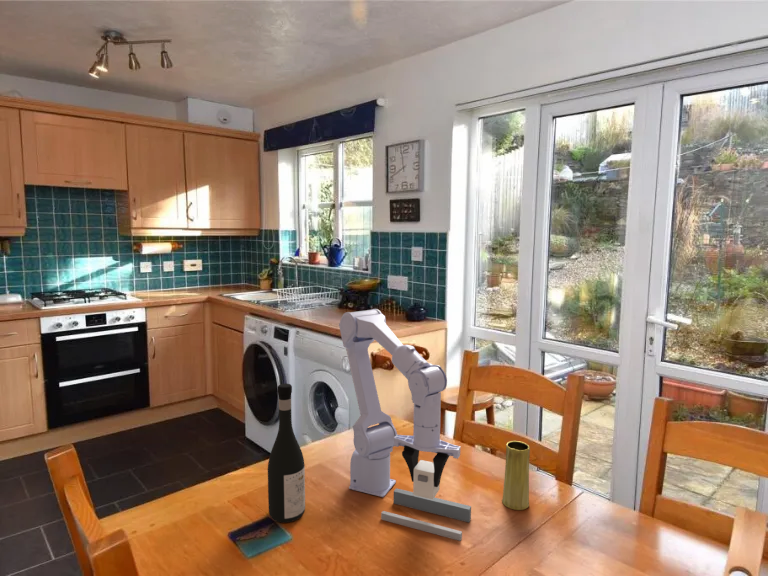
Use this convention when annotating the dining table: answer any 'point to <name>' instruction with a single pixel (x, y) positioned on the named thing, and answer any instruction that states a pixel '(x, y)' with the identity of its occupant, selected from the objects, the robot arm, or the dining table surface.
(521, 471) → the vase
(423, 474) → the cabinet block
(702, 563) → the dining table surface
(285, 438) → the wine bottle
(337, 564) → the dining table surface
